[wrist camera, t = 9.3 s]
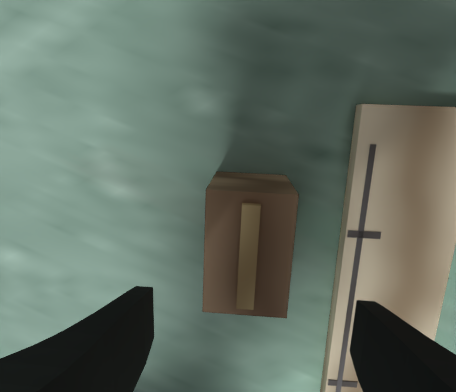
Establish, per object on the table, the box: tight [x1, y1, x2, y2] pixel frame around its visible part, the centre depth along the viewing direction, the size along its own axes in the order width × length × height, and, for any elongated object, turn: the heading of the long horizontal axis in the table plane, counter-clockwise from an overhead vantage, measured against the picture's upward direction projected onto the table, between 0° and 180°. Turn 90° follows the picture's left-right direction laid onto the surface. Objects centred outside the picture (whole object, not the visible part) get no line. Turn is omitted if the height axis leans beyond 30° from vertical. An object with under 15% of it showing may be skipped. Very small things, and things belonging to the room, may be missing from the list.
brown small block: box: [203, 171, 299, 318], centre depth 17 cm, size 4×6×5 cm, turn 177°
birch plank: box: [320, 104, 456, 392], centre depth 19 cm, size 6×24×1 cm, turn 178°
